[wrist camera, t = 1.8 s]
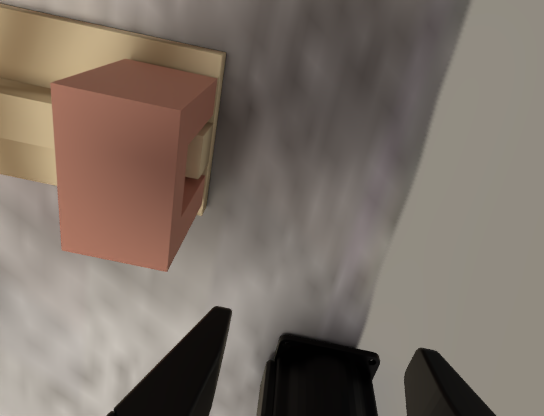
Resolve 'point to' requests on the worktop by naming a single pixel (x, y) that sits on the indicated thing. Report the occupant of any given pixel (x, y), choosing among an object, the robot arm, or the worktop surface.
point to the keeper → (128, 159)
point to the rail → (70, 61)
